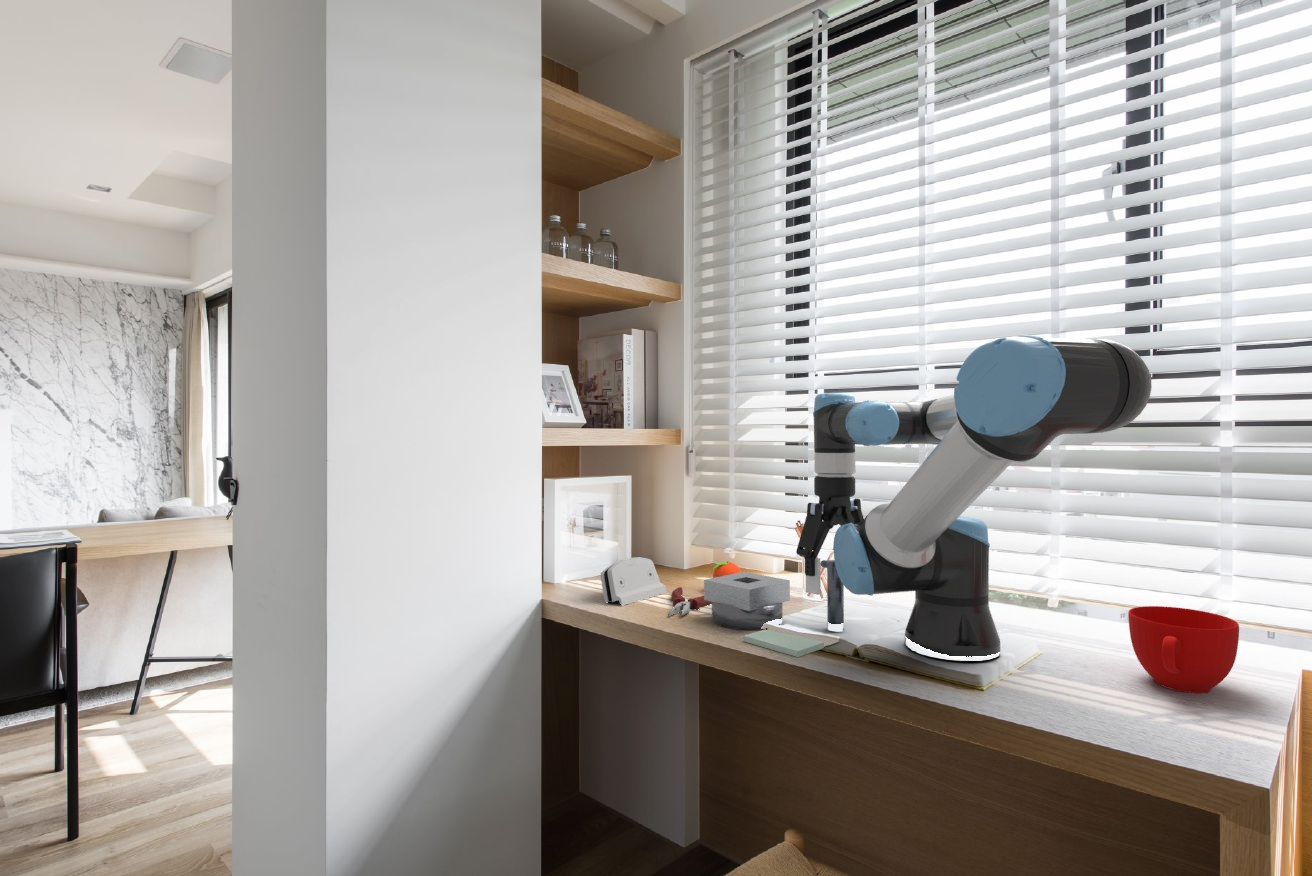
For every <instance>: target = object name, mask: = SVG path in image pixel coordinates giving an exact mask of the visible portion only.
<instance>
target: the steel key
mask: <svg viewBox="0 0 1312 876" xmlns="http://www.w3.org/2000/svg"><path fill="white" fill-rule="evenodd" d="M820 567H821V568H824V569H826V578H827V579H826V584H827V585H826V589H827V590H826V592H827V593H826V595H827V596H826V598H827V599H826V601H827V604H826V609H827V613H826V615H827V622H829V623H831V624H841V623H844V624H845V614H844V613H845V611H844V609H845V608H844V607H845V605H844V603H845V599H844V598H845V597H844V593H845V592H844V591H845V590H844V588H845V586H844V585H843V583H842V581H841V580H840V577H839V575H838V572H837V569H836V565H835V560H834V559H829V560H824V559H822V560H820Z"/></svg>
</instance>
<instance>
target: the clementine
mask: <svg viewBox="0 0 1312 876" xmlns="http://www.w3.org/2000/svg"><path fill="white" fill-rule="evenodd" d="M740 572H742V570H741V568H740V567H739V566H738V565H737V564H736V563H734V562H729V561H725V562H720V563H717V564H716V565H715V566H713V568H712V570H711V572H710V573H711V574H710V575H712V578H716V577H721V576H725V575H730V574H735V573H740Z"/></svg>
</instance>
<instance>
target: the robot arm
mask: <svg viewBox="0 0 1312 876" xmlns="http://www.w3.org/2000/svg"><path fill="white" fill-rule="evenodd" d="M955 380H956V381H958V385H957V386H955V387H954V389H953V394H952V395H949V396H944V397H943V396H942V397H939V398H935V399H931V400H927V401H911V402H910V401H909V402H907V401H879V400H865V401H864V400H863V401H859V402H856V398H855V396H854V394H852V392H851V393H850V392H829V393H825V392H824V393H823V392H822V393H818V394H817V395H816V396H815V397H814V402H813V403H814V408H813V412H812V417H813V449H814V450H813V451H814V465H813V467H814V469H813V470H814V473H815V474H817V475H816V476H815V477H814V478H813V480H814V481H813V485H814V486H813V492H814V495H815V496H817V497H818V503H816V502H808V503H807V507H806V516H805V518H804V519H805V520H804V524H803V526H802V530H801V533H800V537H799V540H798V543H797V548H796V550H795V552H796V554H797V556H799V557H802V558H803V559H804V575H805V593H808V594H812V595H818V596H819V595H821V564H820V563H821V558H819V557H818V556H819V553H820V551H821V549H822V547H823V544H824V543H825V541H826V539H827V536H828V533H829V532H830V530H831V529H833V528H834V526H838V525H839V527H838V528H837V529H836V531H835V534H834V537H833V544H832V545H833V558H834V559H833V560H835V565H836V569H837V572H838V575H839V577H840V580H841V581H842V583H843V585H844V588H845V589H846V590H848V591H849V592H850V593H851V594H853V595H856V596H857V595H858V596H859V595H865V596H866V595H868V596H874V595H880V594H884V595H885V594H894V593H895V594H896V593H904V592H905V593H907V592H914V593H915V595H914V596H915V599H914V600H915V601H914V604H913V607H912V609H911V612H910V616H909V619H908V622H907V624H906V627H905V631H904V637H905V636H906V637H907V638H908V639H910V640H911V641H912V642H915V643H916V644H919V645H920V646H922V647H924V648H926V649H930V650H932V651H934V652H938V653H941V654H947V655H949V656H966V657H967V656H968V657H969V656H971V657H972V656H987V655H991V654H996V653H998V652H1000V651H1001V639H1000V636H999V633H998V630H997V627H996V624H995V621H994V618H993V616H992V613H991V610H990V606H989V605H990V604H989V603H990V602H989V601H990V599H989V593H990V591H989V590H990V589H989V587H990V586H989V582H990V581H989V568H990V567H989V566H990V564H989V562H990V561H989V560H990V557H989V555H990V546H991V545H990V542H989V532H988V531H989V530H988V529H989V528H988V526H987V524H986V523H985V522H984V521H983V520H981V519H978V518H975V517H969V516H962V514H963V513H965V511H966V510H967V509H968V508H970V506H971V505H972V504H973V503H974V502H975V501H976V500H977V499H978V498H979V497H980V496H981V495H982V494H983V493H984V492H985V491H986V490H987V489H988V488H989V487H990V485H992V484H993V483H994V482H995V481H996V479H998V478H999V477H1000V475H1002V474H1003V472H1004V471H1005V470H1006V469H1007V468H1008V467H1010V465H1011V464H1012V463H1026V462H1029V461H1031V460H1033V459H1035V458H1036V457H1037V456H1039V455H1040V453H1042V451H1044V450H1045V449H1046V447H1048V446H1049V445H1050V444H1051V443H1052V442H1053V441H1054V440H1055V439H1056V438H1057V437H1059V436H1061V435H1078V434H1081V435H1083V434H1087V435H1088V434H1100V433H1107V432H1112V431H1116V430H1118V429H1121V428H1122V427H1123V428H1124V426H1125V427H1126V426H1127V425H1128V424H1130V423H1132V422H1133V421H1134V420H1136V419H1137V417H1139V416H1140V415H1141V414H1142V412H1143V411H1144V409H1146V407H1147V404H1148V402H1149V400H1150V397H1151V393H1152V377H1151V373H1150V369H1149V368H1148V366H1147V364H1146V363H1145V361H1144V360H1143V358H1142V357H1141V356H1140V355H1139V354H1138V353H1137V352H1136V351H1134V350H1133V349H1132V348H1130V347H1128V346H1126V345H1124V344H1122V343H1120V342H1117V341H1113V340H1110V339H1104V338H1103V339H1101V338H1053V337H1052V338H1049V337H1048V338H1047V337H1046V338H1045V337H1044V338H1043V337H1040V336H1036V335H1035V336H1034V335H1026V334H1025V335H1016V336H1011V337H1010V336H1009V337H999V338H993V339H992V340H991V339H990V340H989V341H987V342H984V343H982V344H980V345H979V346H977V347H976V348H975V349H974V350H973V351H972V352H971V353H970V354H969V355H968V356H967V357H966V358H965V360H964V361H963V362H962V364H961V366H960V368H959V371H958V373H957V376H956V378H955ZM856 445H859V446H860V445H861V446H864V447H865V446H866V447H870V446H873V447H877V446H882V445H886V446H887V445H936V446H935V447H934V449H933V450H932V451H931V452H930V453H929V455H928V456H927V457H926V458H925V460H924V461H923V462H922V463H921V464H920V466H919V467H918V468H917V469H916V471H915V472H914V473H913V474H912V475H911V476H910V478H909V479H908V481H906V483H905V484H904V485H903V486H902V488H901V489H900V490H899V491H898V492H897V494H896V495H895V496H894V497H893V499H891V501H890V502H889V503H883V504H880V505H877V506H875V507H874V508H872V509H871V510H870V511H869V512H868V514H867V515H866V516H865V518H864V515H863V511H862V503H861V499H860V498H855V497H854V496H855V495H856V478H855V476H853V474H855V473H856Z"/></svg>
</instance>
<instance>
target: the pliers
mask: <svg viewBox="0 0 1312 876" xmlns="http://www.w3.org/2000/svg"><path fill="white" fill-rule="evenodd" d="M683 590H684V589H683V587H681V586H679V587H677V588H675V589H673V591H672V592H671V600H672V609H671V610H670V611H669V613H668V616H673V614H674V615H678V614H679V613H678V612H680V613H681V612H682V613H681V617H683V616H685V615H687V614H688V613H690V610H689V609H693V610H694V609H696V610H695V611H699V610H700V608H703V607H707V605H708V606H711V605H710V604H712V602H711V601H707V600H704V595H701V596H696V597H690V598H688V599H687V601H686V599H685V597H684V596H683V593H684V592H683ZM681 595H682V596H681ZM673 607H674V608H673ZM698 609H699V610H698ZM680 610H683V611H680ZM677 613H678V614H677Z"/></svg>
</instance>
